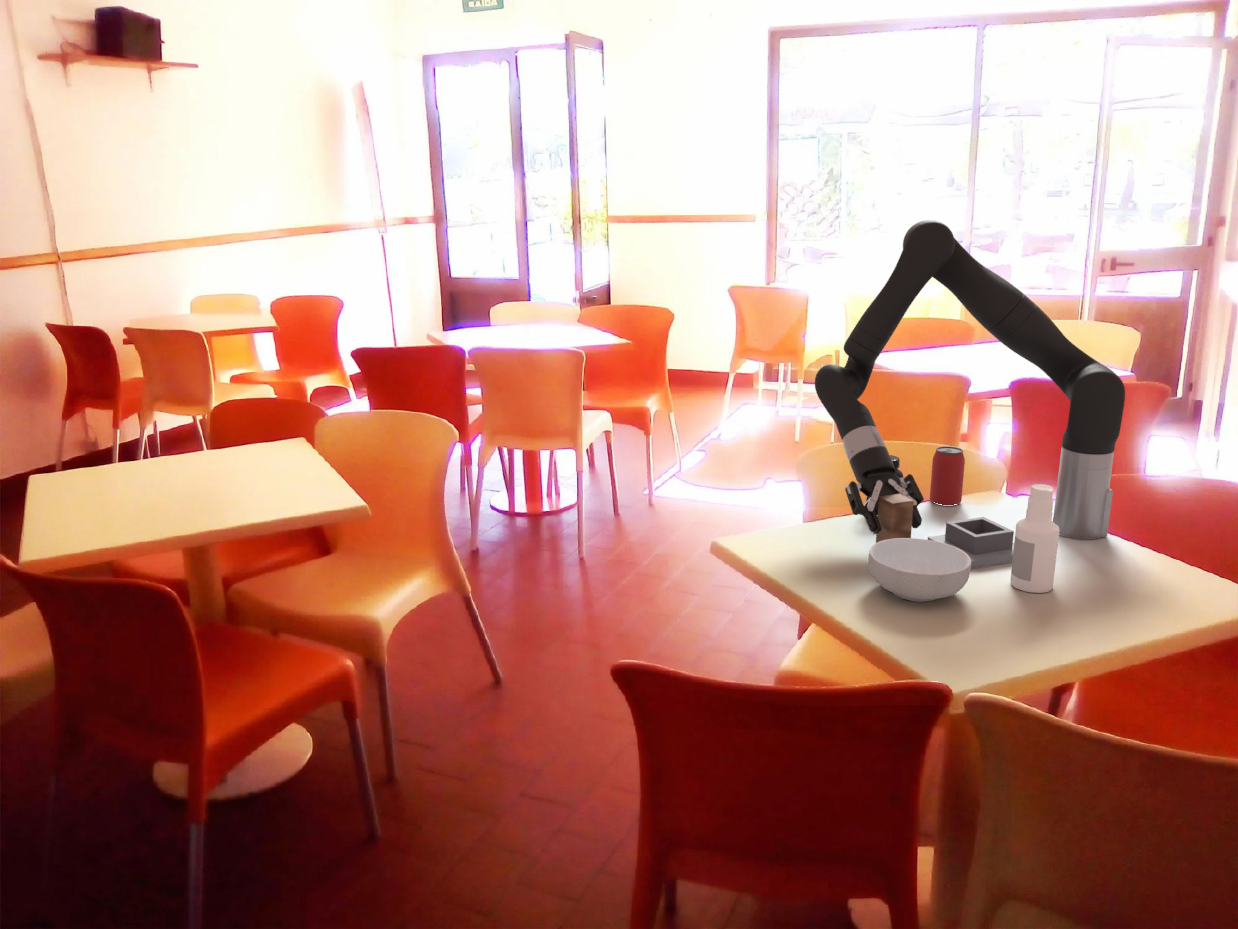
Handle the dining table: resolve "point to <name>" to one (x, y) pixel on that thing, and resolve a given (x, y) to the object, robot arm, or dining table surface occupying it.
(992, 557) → the socket pad
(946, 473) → the beer can
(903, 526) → the walnut peg
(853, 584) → the dining table surface
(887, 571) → the cereal bowl
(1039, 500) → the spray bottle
